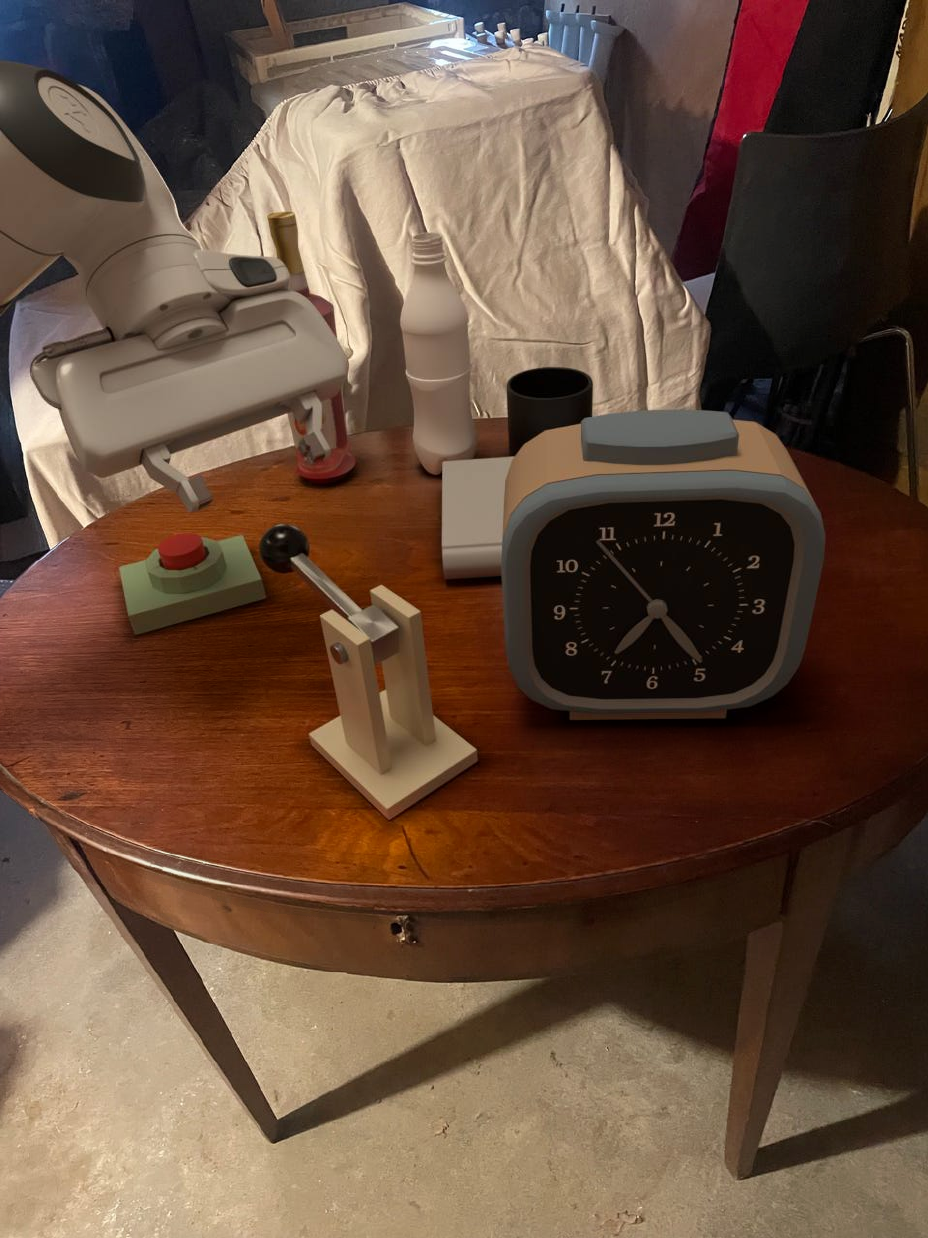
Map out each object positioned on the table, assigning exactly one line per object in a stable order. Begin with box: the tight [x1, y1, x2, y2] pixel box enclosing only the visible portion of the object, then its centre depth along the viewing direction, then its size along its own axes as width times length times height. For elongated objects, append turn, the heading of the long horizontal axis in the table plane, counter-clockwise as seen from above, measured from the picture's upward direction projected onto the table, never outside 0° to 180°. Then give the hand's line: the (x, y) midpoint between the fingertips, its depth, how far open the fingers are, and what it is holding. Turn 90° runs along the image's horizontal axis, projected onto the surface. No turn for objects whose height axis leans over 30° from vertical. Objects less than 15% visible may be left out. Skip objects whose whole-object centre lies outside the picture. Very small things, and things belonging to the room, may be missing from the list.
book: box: [441, 456, 514, 580], centre depth 87 cm, size 18×4×24 cm
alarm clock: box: [501, 409, 827, 721], centre depth 62 cm, size 21×10×22 cm, turn 87°
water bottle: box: [399, 232, 478, 476], centre depth 94 cm, size 7×7×25 cm
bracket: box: [308, 584, 479, 821], centre depth 61 cm, size 10×8×13 cm
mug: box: [505, 366, 594, 457], centre depth 99 cm, size 9×12×9 cm
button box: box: [118, 534, 267, 636], centre depth 82 cm, size 12×9×4 cm
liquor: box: [266, 211, 356, 485], centre depth 93 cm, size 7×7×28 cm
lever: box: [258, 523, 399, 666], centre depth 61 cm, size 14×4×4 cm, turn 40°
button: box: [157, 532, 206, 570], centre depth 81 cm, size 4×4×2 cm
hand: (263, 482), depth 61 cm, fingers open, 8 cm apart
